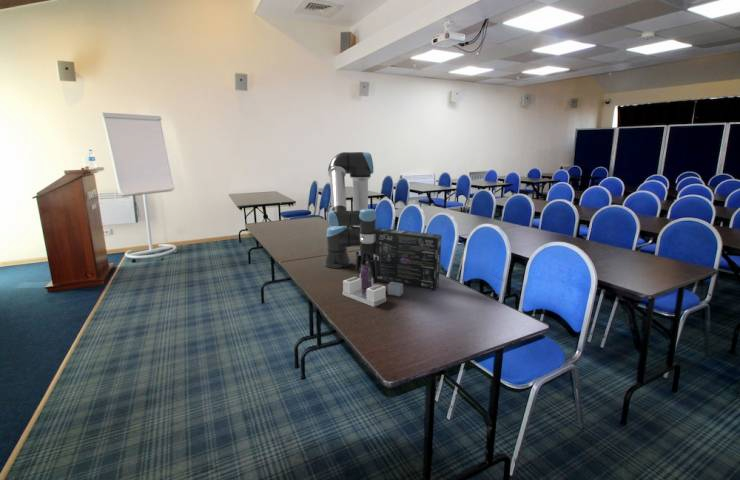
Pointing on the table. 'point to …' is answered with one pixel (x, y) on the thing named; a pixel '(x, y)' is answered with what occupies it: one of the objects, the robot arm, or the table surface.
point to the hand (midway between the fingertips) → (367, 287)
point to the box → (409, 258)
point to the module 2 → (375, 293)
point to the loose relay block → (395, 288)
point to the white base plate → (363, 297)
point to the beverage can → (366, 276)
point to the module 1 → (352, 284)
